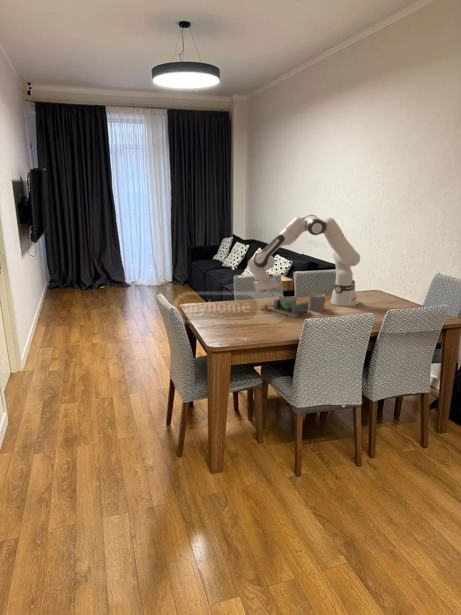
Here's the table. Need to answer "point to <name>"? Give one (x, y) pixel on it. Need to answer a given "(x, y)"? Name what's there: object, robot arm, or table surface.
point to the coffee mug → (316, 302)
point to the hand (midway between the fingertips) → (272, 295)
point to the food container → (287, 303)
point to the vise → (294, 309)
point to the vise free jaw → (277, 303)
